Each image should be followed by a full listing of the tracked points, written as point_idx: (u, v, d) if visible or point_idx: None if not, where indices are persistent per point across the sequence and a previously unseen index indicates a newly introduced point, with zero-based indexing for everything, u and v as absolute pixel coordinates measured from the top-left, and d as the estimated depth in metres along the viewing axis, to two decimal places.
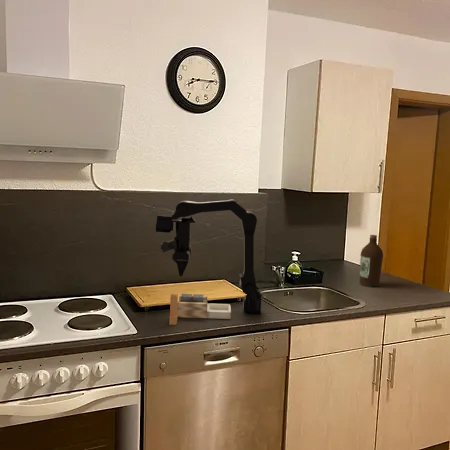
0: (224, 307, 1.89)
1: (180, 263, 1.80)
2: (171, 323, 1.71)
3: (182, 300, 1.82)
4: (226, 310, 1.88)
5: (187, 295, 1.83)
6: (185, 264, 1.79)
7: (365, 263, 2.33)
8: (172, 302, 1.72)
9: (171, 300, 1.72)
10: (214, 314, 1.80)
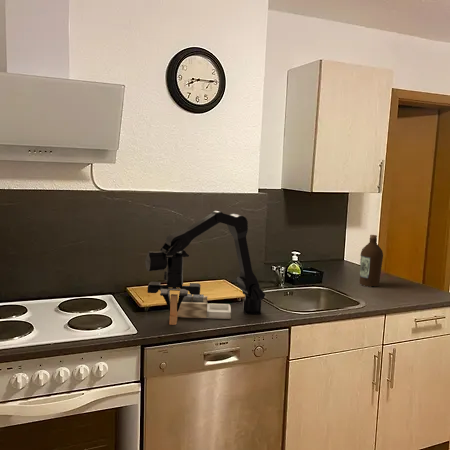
0: (224, 307, 1.89)
1: None
2: (171, 323, 1.71)
3: (182, 300, 1.82)
4: (226, 310, 1.88)
5: (187, 295, 1.83)
6: None
7: (365, 263, 2.33)
8: (172, 302, 1.72)
9: (171, 300, 1.72)
10: (214, 314, 1.80)
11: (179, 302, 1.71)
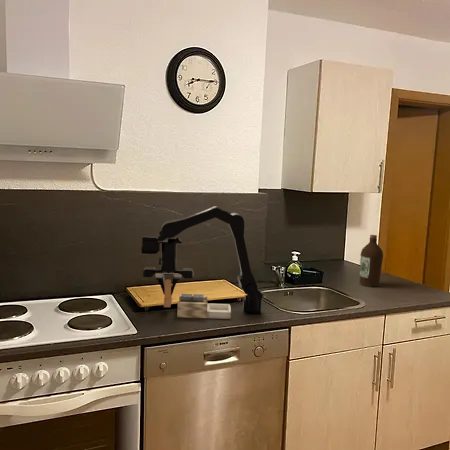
0: (224, 307, 1.89)
1: None
2: (165, 305, 1.81)
3: (182, 300, 1.82)
4: (226, 310, 1.88)
5: (187, 295, 1.83)
6: None
7: (365, 263, 2.33)
8: (166, 286, 1.81)
9: (165, 284, 1.81)
10: (214, 314, 1.80)
11: (173, 286, 1.81)
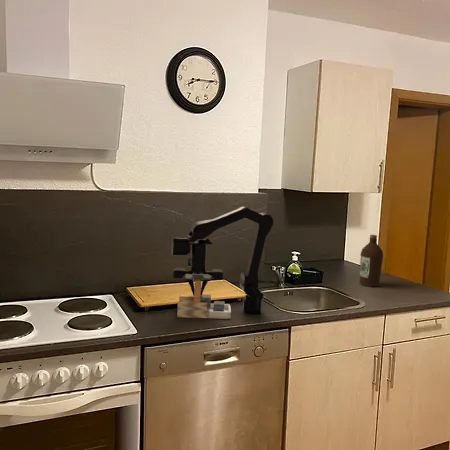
0: (224, 307, 1.89)
1: None
2: None
3: (201, 301, 1.82)
4: (226, 310, 1.88)
5: (206, 296, 1.84)
6: None
7: (365, 263, 2.33)
8: (196, 286, 1.82)
9: (195, 284, 1.82)
10: (214, 314, 1.80)
11: (203, 287, 1.81)
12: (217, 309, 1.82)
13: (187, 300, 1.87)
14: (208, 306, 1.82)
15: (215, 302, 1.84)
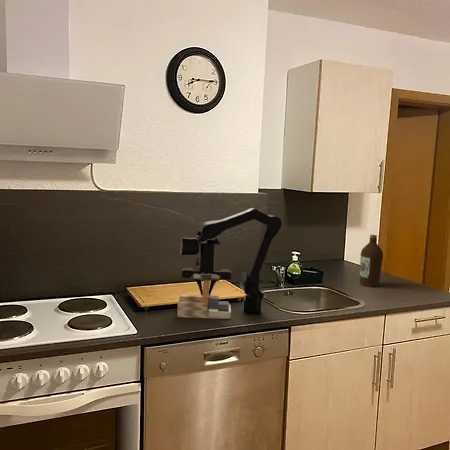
0: None
1: None
2: None
3: (209, 301, 1.82)
4: None
5: (214, 297, 1.84)
6: None
7: (365, 263, 2.33)
8: (204, 286, 1.82)
9: (204, 284, 1.82)
10: (214, 314, 1.80)
11: (211, 287, 1.81)
12: (221, 309, 1.82)
13: (187, 300, 1.87)
14: (216, 307, 1.82)
15: (219, 302, 1.84)
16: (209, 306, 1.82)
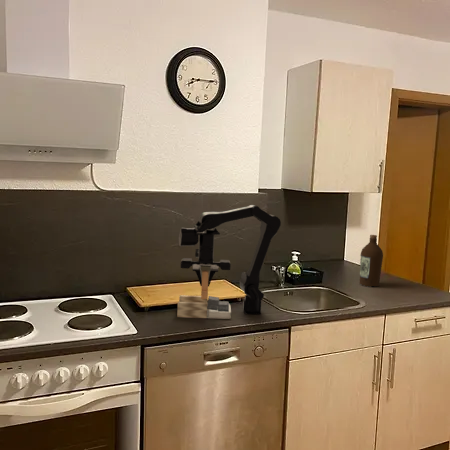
0: None
1: None
2: (203, 297, 1.80)
3: (209, 302, 1.82)
4: None
5: (214, 298, 1.84)
6: None
7: (365, 263, 2.33)
8: (203, 278, 1.81)
9: (203, 276, 1.81)
10: (214, 314, 1.80)
11: (210, 277, 1.80)
12: (221, 309, 1.82)
13: (187, 300, 1.87)
14: (215, 308, 1.82)
15: (219, 302, 1.84)
16: (209, 307, 1.82)
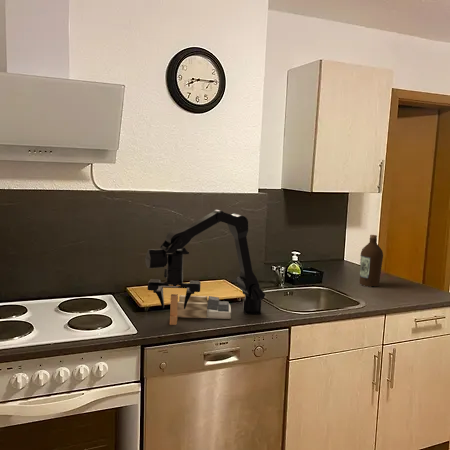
0: None
1: None
2: (171, 323, 1.71)
3: (209, 302, 1.82)
4: None
5: (214, 298, 1.84)
6: None
7: (365, 263, 2.33)
8: (172, 302, 1.72)
9: (171, 300, 1.72)
10: (214, 314, 1.80)
11: (186, 300, 1.71)
12: (221, 309, 1.82)
13: None
14: (215, 308, 1.82)
15: (219, 302, 1.84)
16: (209, 307, 1.82)
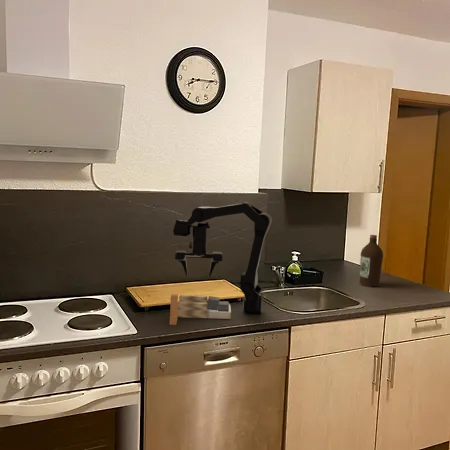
0: None
1: None
2: (171, 323, 1.71)
3: (209, 302, 1.82)
4: None
5: (214, 298, 1.84)
6: None
7: (365, 263, 2.33)
8: (172, 302, 1.72)
9: (171, 300, 1.72)
10: (214, 314, 1.80)
11: (211, 268, 1.90)
12: (221, 309, 1.82)
13: (187, 300, 1.87)
14: (215, 308, 1.82)
15: (219, 302, 1.84)
16: (209, 307, 1.82)
